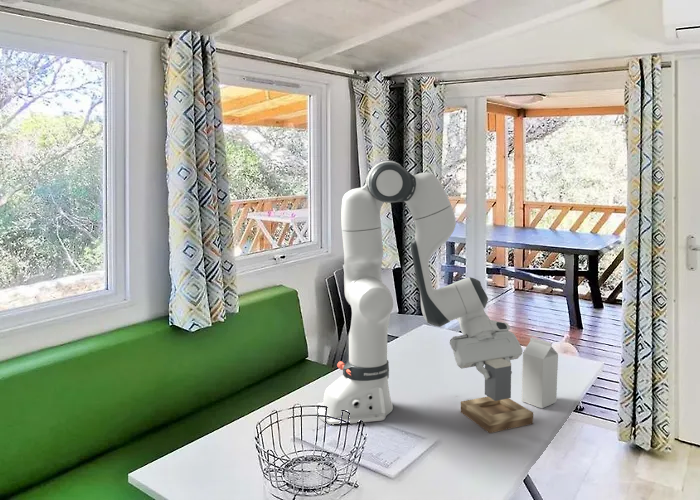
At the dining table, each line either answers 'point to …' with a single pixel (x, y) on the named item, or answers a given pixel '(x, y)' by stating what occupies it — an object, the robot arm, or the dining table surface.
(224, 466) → the dining table surface
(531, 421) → the square wooden tray
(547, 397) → the milk carton
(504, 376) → the plain greyish beige box
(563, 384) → the dining table surface
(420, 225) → the robot arm
